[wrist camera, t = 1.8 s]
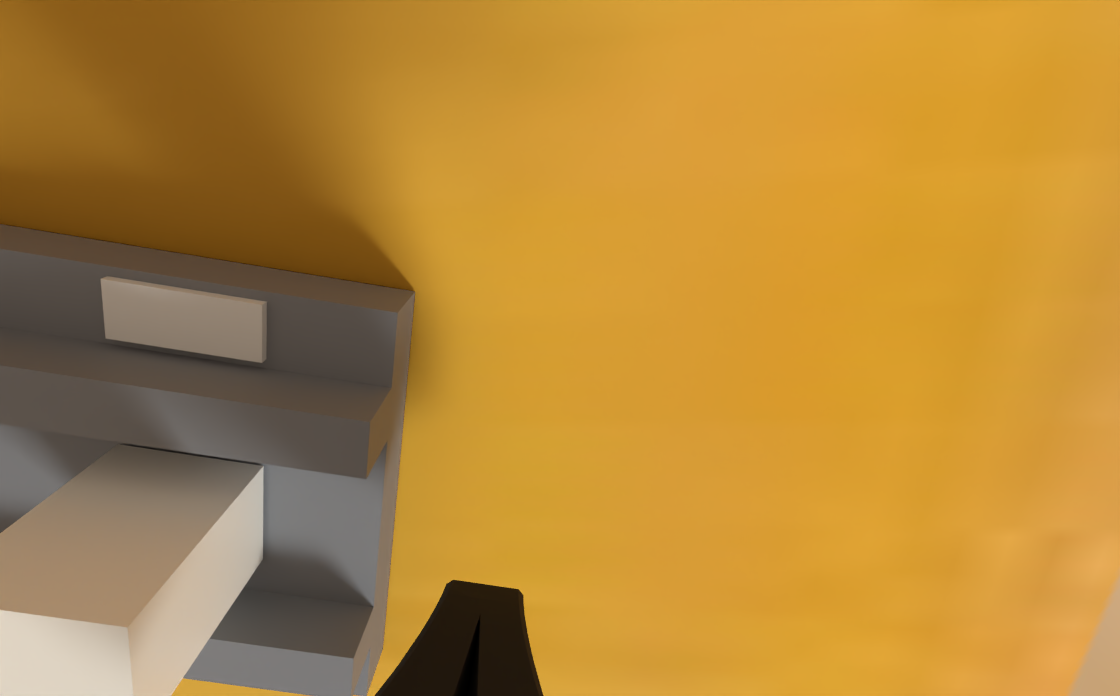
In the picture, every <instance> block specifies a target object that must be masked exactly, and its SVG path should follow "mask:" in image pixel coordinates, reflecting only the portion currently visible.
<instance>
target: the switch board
mask: <svg viewBox="0 0 1120 696" xmlns="http://www.w3.org/2000/svg"><path fill="white" fill-rule="evenodd" d="M414 299H415V292H414V291H408V290H402V289H396V288H390V287H383V286H377V285H371V284H365V283H359V282H353V281H347V280H340V279H334V278H328V277H322V276H316V275H310V274H304V273H297V272H291V271H285V270H279V269H273V268H267V267H261V266H254V265H248V264H242V263H236V262H230V261H224V260H218V259H211V258H205V257H199V256H193V255H187V254H181V253H175V252H168V251H162V250H156V249H150V248H144V247H138V246H132V245H126V244H119V243H113V242H107V241H101V240H95V239H89V238H83V237H76V236H70V235H64V234H58V233H52V232H46V231H40V230H33V229H27V228H21V227H15V226H9V225H3V224H0V533H1V532H3V531H4V530H5V529H7V528H8V527H9V526H11V525H12V524H13V523H15V522H16V521H17V520H19V519H20V518H21V517H22V516H24V515H25V514H26V513H28V512H29V511H30V510H32V509H33V508H34V507H36V506H37V505H38V504H40V503H41V502H42V501H44V500H45V499H46V498H48V497H49V496H50V495H52V494H53V493H54V492H55V491H57V490H58V489H59V488H61V487H62V486H63V485H65V484H66V483H67V482H69V481H70V480H71V479H73V478H74V477H75V476H77V475H78V474H79V473H81V472H82V471H83V470H85V469H86V468H87V467H88V466H90V465H91V464H92V463H94V462H95V461H96V460H98V459H99V458H100V457H102V456H103V455H104V454H106V453H107V452H108V451H110V450H111V449H112V448H114V447H115V446H116V445H118V444H120V445H126V446H133V447H140V448H147V449H153V450H160V451H167V452H173V453H180V454H187V455H193V456H200V457H207V458H213V459H220V460H227V461H233V462H240V463H247V464H253V465H260V466H264V469H263V560H262V561H261V563H260V564H259V565H258V567H257V568H256V570H255V571H254V573H253V574H252V576H251V577H250V579H249V580H248V582H247V583H246V585H245V586H244V588H243V589H242V591H241V592H240V594H239V595H238V597H237V598H236V600H235V601H234V603H233V604H232V606H231V607H230V609H229V610H228V612H227V613H226V615H225V616H224V618H223V619H222V620H221V622H220V623H219V625H218V626H217V628H216V629H215V631H214V632H213V634H212V635H211V637H210V638H209V640H208V641H207V643H206V644H205V646H204V647H203V649H202V650H201V652H200V653H199V655H198V656H197V658H196V659H195V661H194V662H193V664H192V665H191V667H190V668H189V670H188V671H187V673H186V674H185V676H184V677H183V678H186V679H193V680H200V681H208V682H215V683H223V684H230V685H237V686H245V687H252V688H260V689H267V690H274V691H282V692H289V693H297V694H304V695H312V696H353V695H360V696H367V693H368V690H369V687H370V684H371V681H372V679H373V676H374V673H375V670H376V667H377V664H378V661H379V658H380V655H381V652H382V649H383V641H384V630H385V619H386V608H387V597H388V586H389V575H390V564H391V552H392V541H393V530H394V519H395V508H396V497H397V486H398V475H399V464H400V453H401V442H402V431H403V420H404V409H405V398H406V387H407V376H408V365H409V354H410V343H411V332H412V321H413V310H414Z"/></svg>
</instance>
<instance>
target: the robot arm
mask: <svg viewBox="0 0 1120 696" xmlns="http://www.w3.org/2000/svg"><path fill="white" fill-rule="evenodd" d="M375 696H543V693H542V690H541V686H540V682H539V679H538V675H537V672H536V668H535V665H534V661H533V657H532V653H531V648H530V643H529V638H528V634H527V628H526V622H525V615H524V605H523V594H522V593H521V592H520V591H519V589H513V588H506V587H499V586H492V585H485V584H478V583H471V582H464V581H457V580H452V581H451V582H449V583H447V584H446V587H445V589H444V592H443V594H442V596H441V598H440V600H439V602H438V604H437V606H436V608H435V609H434V611H433V613H432V615H431V616H430V618H429V620H428V621H427V623H426V625H425V626H424V628H423V629H422V631H421V633H420V634H419V636H418V637H417V639H416V640H415V642H414V643H413V644H412V646H411V647H410V649H409V650H408V652H407V653H406V655H405V656H404V658H403V659H402V661H401V662H400V663H399V665H398V666H397V668H396V669H395V670H394V672H393V673H392V674H391V676H390V677H389V678H388V679H387V681H386V682H385V683H384V684H383V686H382V687H381V688H380V690H379V691H378V692H377V693H376V695H375Z"/></svg>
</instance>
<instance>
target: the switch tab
mask: <svg viewBox="0 0 1120 696" xmlns="http://www.w3.org/2000/svg"><path fill="white" fill-rule="evenodd" d="M263 469H264V466H260V465H253V464H247V463H240V462H233V461H227V460H220V459H213V458H207V457H200V456H193V455H187V454H180V453H173V452H167V451H160V450H153V449H147V448H140V447H133V446H126V445H120V444H118V445H116V446H115V447H114V448H112V449H111V450H110V451H108V452H107V453H106V454H104V455H103V456H102V457H100V458H99V459H98V460H96V461H95V462H94V463H92V464H91V465H90V466H88V467H87V468H86V469H85V470H83V471H82V472H81V473H79V474H78V475H77V476H75V477H74V478H73V479H71V480H70V481H69V482H67V483H66V484H65V485H63V486H62V487H61V488H59V489H58V490H57V491H55V492H54V493H53V494H52V495H50V496H49V497H48V498H46V499H45V500H44V501H42V502H41V503H40V504H38V505H37V506H36V507H34V508H33V509H32V510H30V511H29V512H28V513H26V514H25V515H24V516H22V517H21V518H20V519H19V520H17V521H16V522H15V523H13V524H12V525H11V526H9V527H8V528H7V529H5V530H4V531H3V532H1V533H0V696H171V695H172V693H173V692H174V690H175V689H176V687H177V686H178V684H179V683H180V681H181V680H182V678H183V677H184V676H185V674H186V673H187V671H188V670H189V668H190V667H191V665H192V664H193V662H194V661H195V659H196V658H197V656H198V655H199V653H200V652H201V650H202V649H203V647H204V646H205V644H206V643H207V641H208V640H209V638H210V637H211V635H212V634H213V632H214V631H215V629H216V628H217V626H218V625H219V623H220V622H221V620H222V619H223V618H224V616H225V615H226V613H227V612H228V610H229V609H230V607H231V606H232V604H233V603H234V601H235V600H236V598H237V597H238V595H239V594H240V592H241V591H242V589H243V588H244V586H245V585H246V583H247V582H248V580H249V579H250V577H251V576H252V574H253V573H254V571H255V570H256V568H257V567H258V565H259V564H260V563H261V561H262V560H263Z"/></svg>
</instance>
